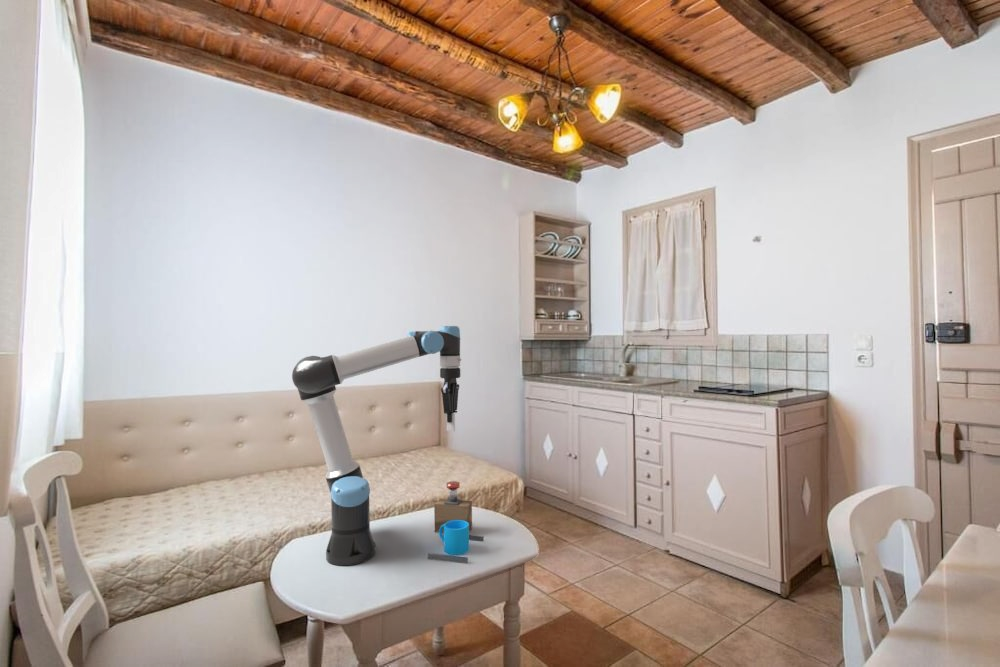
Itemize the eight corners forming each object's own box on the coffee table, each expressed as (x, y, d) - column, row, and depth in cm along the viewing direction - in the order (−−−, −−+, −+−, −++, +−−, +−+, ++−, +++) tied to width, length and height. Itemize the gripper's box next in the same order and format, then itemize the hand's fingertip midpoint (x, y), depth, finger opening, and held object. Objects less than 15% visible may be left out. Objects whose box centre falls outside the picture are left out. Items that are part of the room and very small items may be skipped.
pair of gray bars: (427, 558, 152) (427, 553, 152) (447, 536, 168) (447, 532, 168) (467, 563, 148) (467, 558, 148) (483, 540, 165) (483, 536, 165)
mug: (474, 548, 158) (474, 523, 158) (456, 557, 152) (456, 531, 152) (448, 539, 166) (448, 515, 166) (430, 547, 160) (430, 522, 160)
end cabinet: (466, 535, 169) (466, 505, 169) (434, 532, 172) (434, 502, 172) (472, 528, 175) (471, 499, 175) (441, 525, 178) (440, 496, 178)
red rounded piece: (444, 501, 172) (444, 484, 172) (449, 496, 176) (449, 480, 176) (457, 502, 170) (456, 485, 170) (461, 497, 175) (461, 481, 175)
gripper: (453, 368, 173) (454, 434, 173) (465, 366, 185) (466, 427, 185) (433, 368, 175) (434, 433, 175) (447, 366, 187) (447, 427, 187)
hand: (450, 430), depth 180 cm, fingers closed
